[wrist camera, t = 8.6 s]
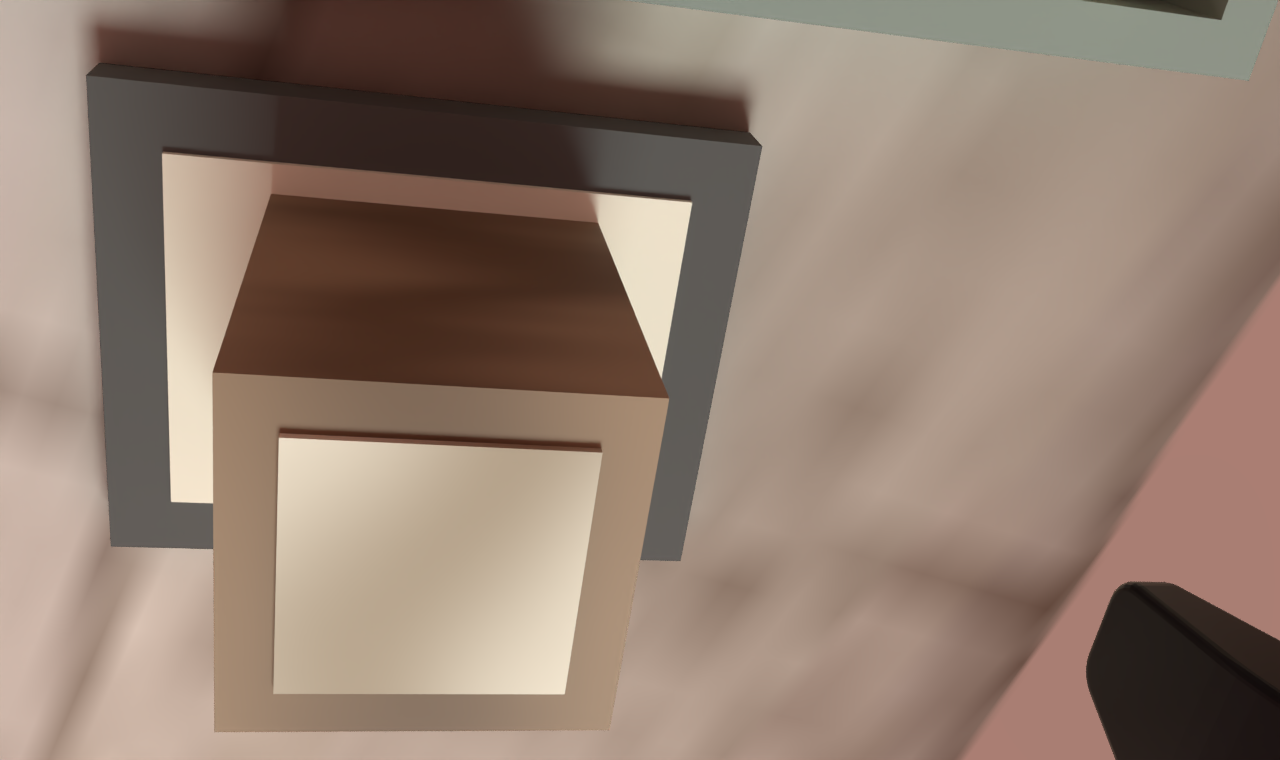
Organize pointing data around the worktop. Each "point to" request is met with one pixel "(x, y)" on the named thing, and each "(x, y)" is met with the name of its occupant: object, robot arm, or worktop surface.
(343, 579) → the walnut block
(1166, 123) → the worktop surface
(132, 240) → the pad
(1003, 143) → the worktop surface
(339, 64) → the worktop surface
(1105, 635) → the robot arm
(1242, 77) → the parts bin
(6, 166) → the worktop surface
